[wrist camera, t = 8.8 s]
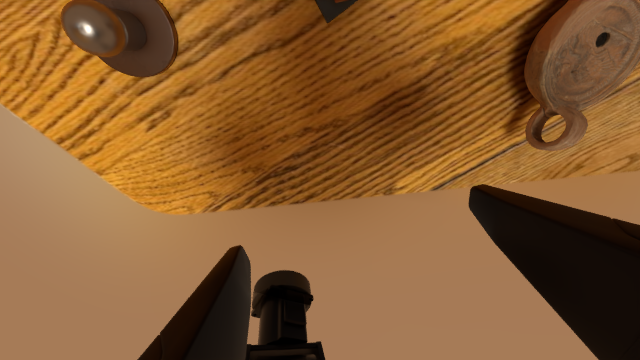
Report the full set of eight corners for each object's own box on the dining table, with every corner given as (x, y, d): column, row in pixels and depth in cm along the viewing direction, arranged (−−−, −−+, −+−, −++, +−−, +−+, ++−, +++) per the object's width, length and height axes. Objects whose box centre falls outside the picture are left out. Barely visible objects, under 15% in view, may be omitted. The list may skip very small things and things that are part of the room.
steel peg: (165, 90, 16) (130, 106, 13) (76, 47, 15) (3, 50, 11) (188, 14, 15) (154, 6, 11) (90, -45, 13) (7, -81, 9)
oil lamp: (580, -80, 15) (700, -128, 11) (659, -39, 17) (791, -66, 12) (469, 126, 21) (517, 149, 17) (536, 141, 23) (595, 165, 18)
